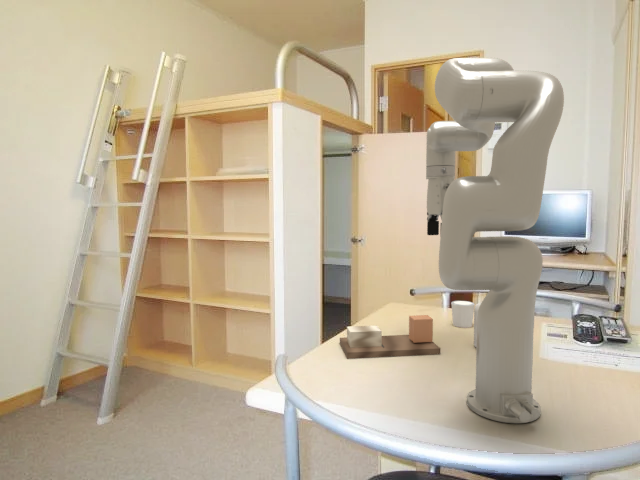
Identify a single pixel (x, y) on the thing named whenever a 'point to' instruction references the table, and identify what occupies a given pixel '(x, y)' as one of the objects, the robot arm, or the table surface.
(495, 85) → the robot arm
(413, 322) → the stub
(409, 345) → the ticket board
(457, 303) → the white cup
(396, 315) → the table surface
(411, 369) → the table surface
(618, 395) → the table surface
